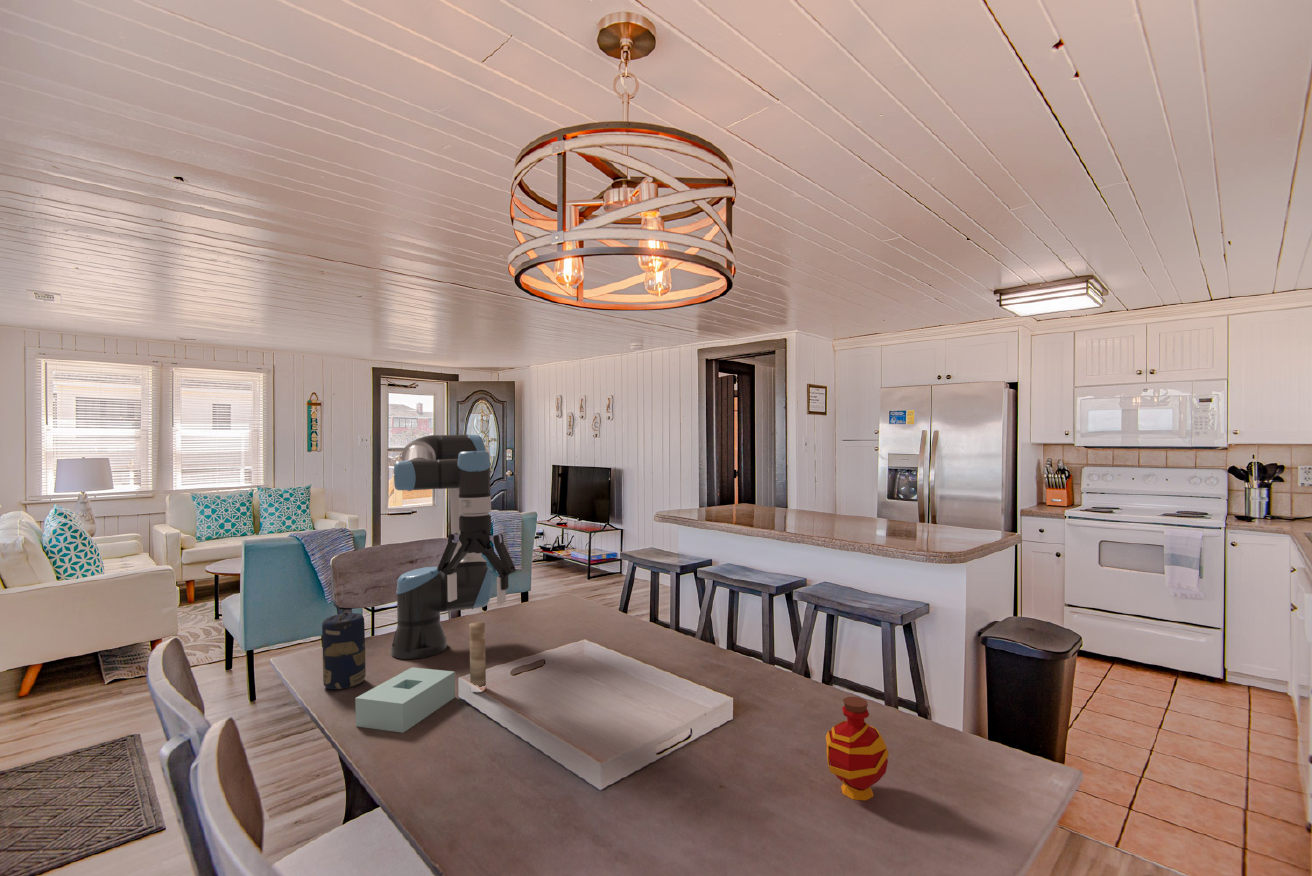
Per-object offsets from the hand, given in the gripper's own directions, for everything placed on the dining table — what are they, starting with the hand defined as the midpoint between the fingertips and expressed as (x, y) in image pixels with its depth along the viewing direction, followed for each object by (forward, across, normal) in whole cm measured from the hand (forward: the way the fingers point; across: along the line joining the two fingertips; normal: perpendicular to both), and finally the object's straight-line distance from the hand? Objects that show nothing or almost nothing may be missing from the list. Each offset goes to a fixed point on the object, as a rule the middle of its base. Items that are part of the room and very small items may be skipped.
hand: (476, 602), depth 146 cm
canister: (+22, -35, -5) cm, 42 cm away
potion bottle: (+22, +86, -22) cm, 92 cm away
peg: (+21, 0, 0) cm, 21 cm away
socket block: (+21, -9, -14) cm, 27 cm away
